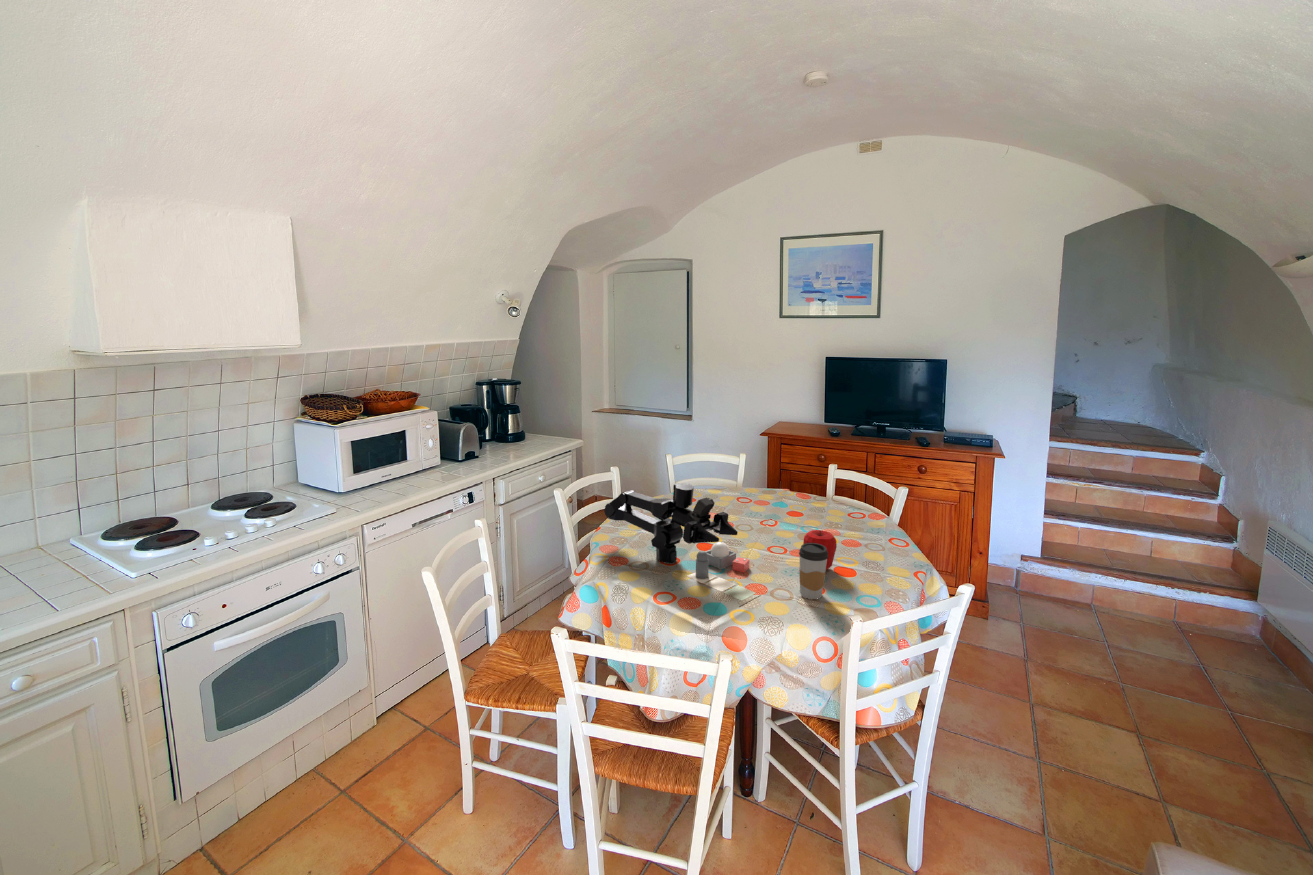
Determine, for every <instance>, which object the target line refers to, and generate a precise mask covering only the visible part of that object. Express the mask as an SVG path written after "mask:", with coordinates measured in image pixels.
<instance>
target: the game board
mask: <svg viewBox="0 0 1313 875" xmlns="http://www.w3.org/2000/svg"><path fill="white" fill-rule="evenodd" d="M686 577H688V578H690V579H692V580H694V581H696V582H699V583H701V584H704V585H706V586H707V587H710V588H712V589H714V590H717V591H719V592H721V593H724V594H725V595H727V596H730V597H732V598H734V599H737V600H739V601H744V600H746V599H748V598H751V596H753V595H755V594H756V592H754V591H753V590H750V589H748V588H746V587H744V586H742V585H739V584H738V585H737V584H736V583H735V582H732V581H729V580H727V579H725V578H722V577H719V576H717V575H715V574H712V573H710V572H709V574H708V578H706V579H699V578H697V577H696V571H695V572H693V573H691V574H688V575H686ZM761 596H762V595H761V594H760V595H758V596H756V597H754V598H752V599H750V600H749V601H747V602H745V603H743V604H741V605H740V606H739V608H741V607H742V606H745V605H746V604H749V603H751V602H752V601H753V600H756V599H757V598H759V597H761Z"/></svg>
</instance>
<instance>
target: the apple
mask: <svg viewBox="0 0 1313 875" xmlns="http://www.w3.org/2000/svg"><path fill="white" fill-rule="evenodd" d="M805 543H817V544H821V545H823V546H825V547H826V548H827V551H828V558H827V564H826V571H827V570H829V569H830V568H831V567H832V566H833V563H834V559H835V555H836V551H837V545H838V544H837V539H836V537H835V536H834V535H833V533H831V532H829V531H827V530H822V529H812V530H809V531H808V532H806V533H805V535H804V536H803V544H805ZM803 544H802V545H803Z"/></svg>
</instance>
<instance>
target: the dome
mask: <svg viewBox="0 0 1313 875" xmlns="http://www.w3.org/2000/svg"><path fill="white" fill-rule="evenodd" d="M710 549H711V555H713V556H716V557H718V558H724V557H726V556H728V555H729V550H730V548H729V546H728V544H726V543H725V542H723V541H722V542H721V541H719V542H714V543H713V545H712V546H711V548H710Z"/></svg>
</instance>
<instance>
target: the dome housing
mask: <svg viewBox="0 0 1313 875" xmlns="http://www.w3.org/2000/svg"><path fill="white" fill-rule="evenodd" d="M705 552H706V553H707V554H708V559H709V566H712V567H714V568H717V569H719V570H723V569H725V568H728V567H729V566H733V561H734V560H735V559H736V558H737V552H735V551H733V550H730V549H729V555H728V556H726V557H724V558H718V557H716V556H713V555H711V548H710V549H708V550H705Z"/></svg>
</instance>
